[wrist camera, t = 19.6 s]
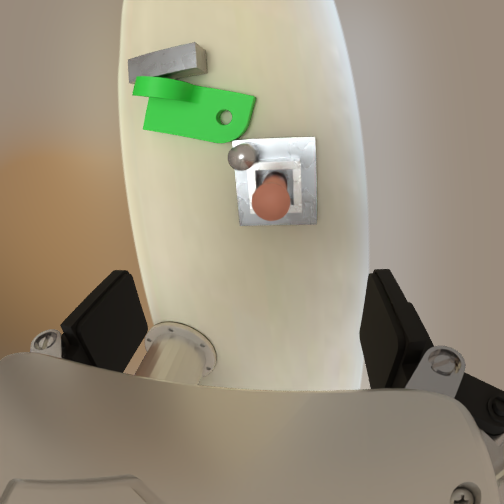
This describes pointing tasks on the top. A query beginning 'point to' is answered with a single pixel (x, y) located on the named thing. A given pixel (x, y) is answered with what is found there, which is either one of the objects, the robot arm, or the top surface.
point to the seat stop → (169, 63)
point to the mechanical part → (193, 109)
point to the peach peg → (272, 197)
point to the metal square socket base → (281, 160)
